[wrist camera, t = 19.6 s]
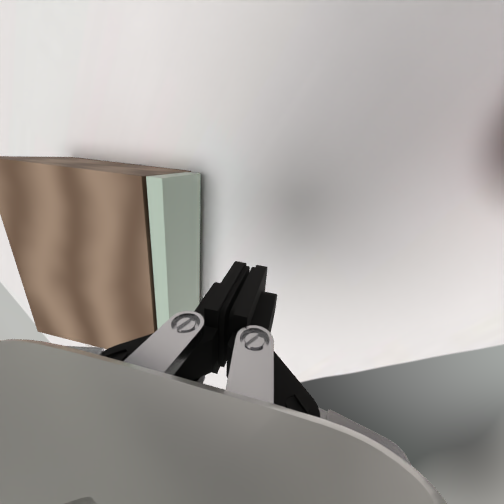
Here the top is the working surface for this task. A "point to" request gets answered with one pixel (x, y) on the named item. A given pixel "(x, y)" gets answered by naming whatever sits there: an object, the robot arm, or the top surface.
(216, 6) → the top surface
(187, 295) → the tray
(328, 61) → the top surface
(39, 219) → the cabinet
